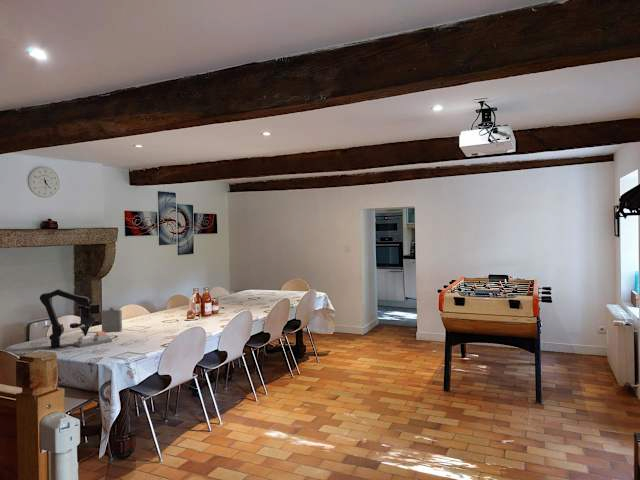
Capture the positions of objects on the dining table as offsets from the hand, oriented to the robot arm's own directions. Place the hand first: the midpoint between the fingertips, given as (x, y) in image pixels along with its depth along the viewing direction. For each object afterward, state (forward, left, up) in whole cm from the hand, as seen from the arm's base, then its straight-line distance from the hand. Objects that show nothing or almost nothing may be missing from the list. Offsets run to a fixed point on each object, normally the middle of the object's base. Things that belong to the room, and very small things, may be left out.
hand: (85, 335), depth 324 cm
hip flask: (-30, +32, -7) cm, 44 cm away
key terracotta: (0, +11, -3) cm, 11 cm away
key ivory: (0, 0, -3) cm, 3 cm away
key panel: (0, +6, -6) cm, 9 cm away
